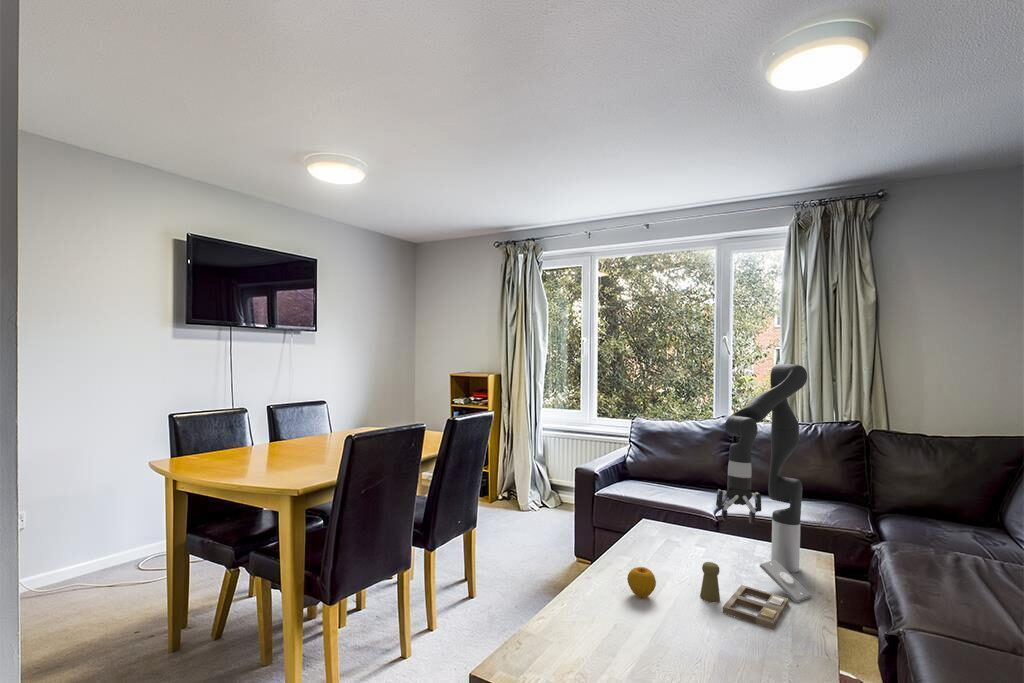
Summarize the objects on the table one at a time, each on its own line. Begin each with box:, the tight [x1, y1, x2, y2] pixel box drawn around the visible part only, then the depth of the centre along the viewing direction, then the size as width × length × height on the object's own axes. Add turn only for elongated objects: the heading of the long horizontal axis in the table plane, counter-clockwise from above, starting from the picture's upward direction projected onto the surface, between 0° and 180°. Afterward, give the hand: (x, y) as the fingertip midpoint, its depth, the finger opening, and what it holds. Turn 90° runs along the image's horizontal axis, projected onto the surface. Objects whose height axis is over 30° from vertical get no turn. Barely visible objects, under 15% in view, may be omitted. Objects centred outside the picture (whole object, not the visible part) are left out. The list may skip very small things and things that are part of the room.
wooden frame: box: [722, 584, 789, 630], centre depth 159 cm, size 20×14×2 cm
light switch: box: [759, 560, 813, 604], centre depth 172 cm, size 8×6×14 cm
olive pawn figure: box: [699, 561, 721, 603], centre depth 165 cm, size 6×6×11 cm
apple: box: [626, 566, 657, 599], centre depth 165 cm, size 9×9×9 cm
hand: (738, 522), depth 178 cm, fingers open, 8 cm apart
